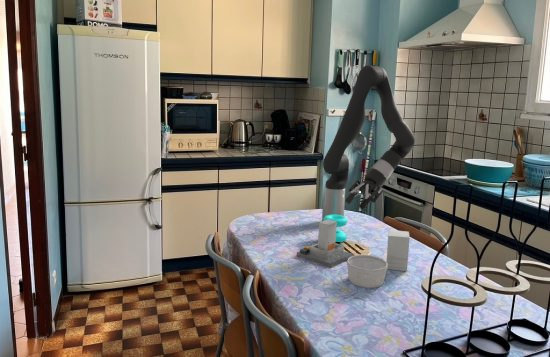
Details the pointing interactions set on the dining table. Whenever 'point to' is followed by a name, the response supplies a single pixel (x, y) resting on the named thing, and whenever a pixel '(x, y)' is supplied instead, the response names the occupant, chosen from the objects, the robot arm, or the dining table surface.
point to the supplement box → (398, 250)
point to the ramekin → (366, 270)
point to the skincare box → (327, 235)
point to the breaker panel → (325, 255)
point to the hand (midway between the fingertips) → (353, 205)
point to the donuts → (340, 222)
